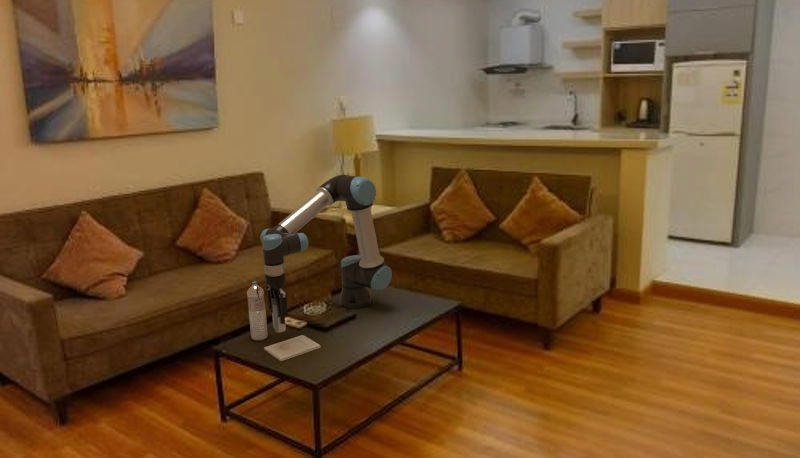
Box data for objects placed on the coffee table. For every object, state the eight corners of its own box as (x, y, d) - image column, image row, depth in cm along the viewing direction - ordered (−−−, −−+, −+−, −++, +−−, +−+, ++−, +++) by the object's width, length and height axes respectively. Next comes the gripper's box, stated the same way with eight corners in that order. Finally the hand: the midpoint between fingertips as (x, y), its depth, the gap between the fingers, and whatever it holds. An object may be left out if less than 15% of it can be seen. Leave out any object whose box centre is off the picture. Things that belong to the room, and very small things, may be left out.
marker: (281, 327, 254) (278, 295, 251) (287, 330, 251) (284, 298, 248) (272, 330, 252) (269, 298, 248) (277, 333, 249) (274, 300, 245)
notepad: (302, 337, 264) (302, 334, 264) (320, 347, 254) (320, 345, 253) (264, 349, 253) (264, 347, 253) (281, 361, 243) (280, 358, 242)
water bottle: (251, 342, 261) (246, 285, 254) (251, 335, 267) (245, 280, 261) (268, 339, 262) (263, 283, 256) (267, 333, 269) (262, 278, 263)
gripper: (256, 270, 250) (261, 325, 255) (276, 281, 237) (281, 338, 242) (273, 266, 254) (278, 320, 260) (294, 276, 241) (298, 332, 247)
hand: (279, 328), depth 251 cm, fingers closed on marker, 4 cm apart
